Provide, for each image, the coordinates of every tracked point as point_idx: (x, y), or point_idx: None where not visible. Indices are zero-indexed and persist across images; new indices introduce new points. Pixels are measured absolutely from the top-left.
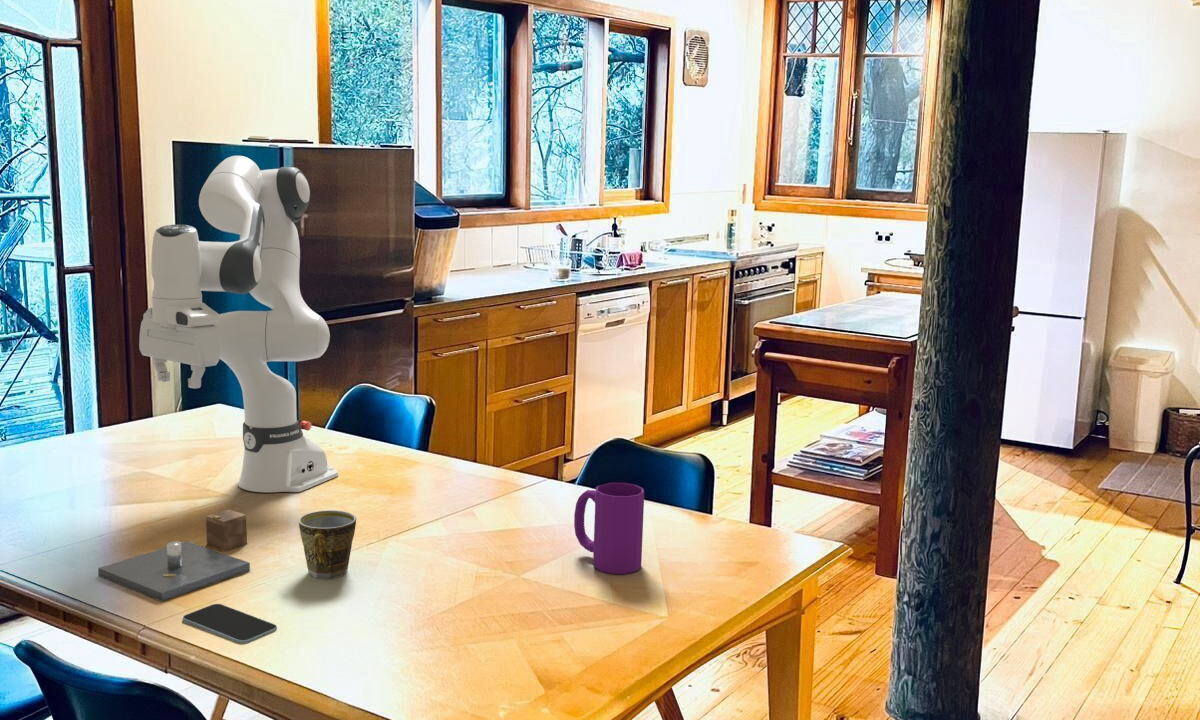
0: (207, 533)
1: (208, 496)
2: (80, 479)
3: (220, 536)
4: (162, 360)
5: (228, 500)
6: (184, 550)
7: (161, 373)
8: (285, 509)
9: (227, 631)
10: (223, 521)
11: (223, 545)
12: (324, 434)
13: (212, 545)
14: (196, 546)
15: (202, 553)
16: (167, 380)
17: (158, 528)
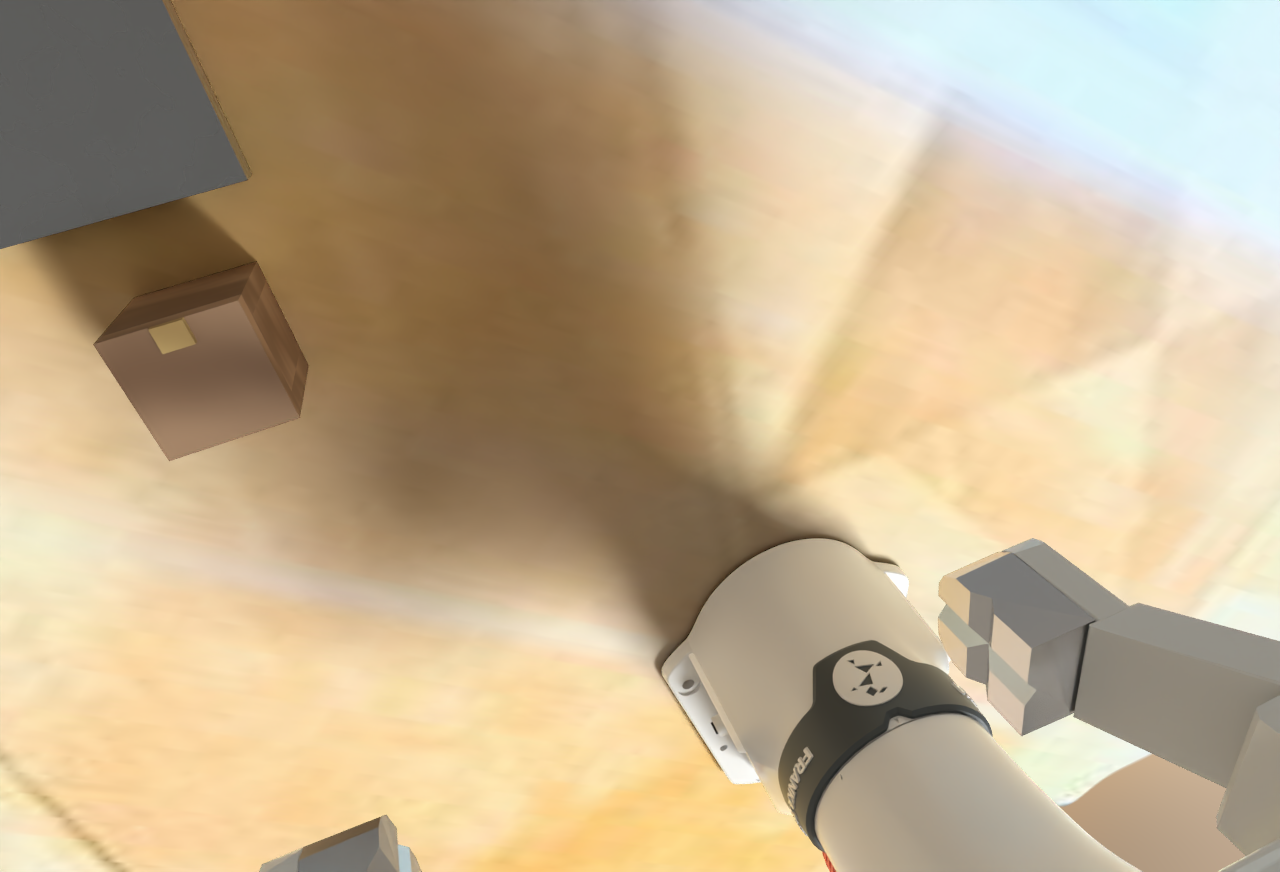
0: (240, 278)
1: (803, 435)
2: (1241, 127)
3: (144, 309)
4: (1266, 809)
5: (725, 477)
6: (93, 118)
7: (1037, 639)
8: (528, 603)
9: None
10: (99, 345)
11: (131, 303)
12: None
13: (216, 275)
14: (135, 189)
15: (3, 176)
16: (946, 628)
17: (580, 168)
